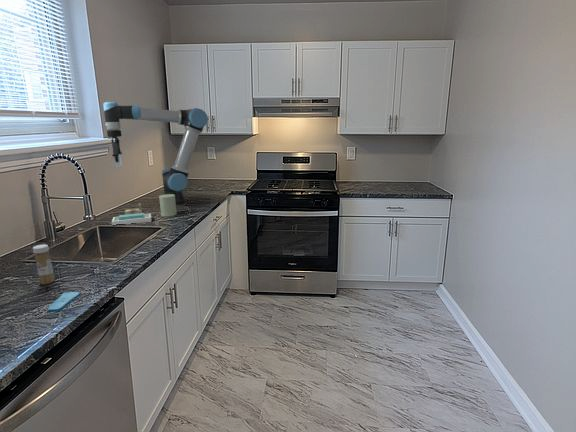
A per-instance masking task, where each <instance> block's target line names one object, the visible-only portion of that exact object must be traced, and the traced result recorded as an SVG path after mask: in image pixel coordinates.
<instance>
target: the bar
mask: <svg viewBox="0 0 576 432" xmlns="http://www.w3.org/2000/svg"><path fill="white" fill-rule="evenodd" d="M144 214H145V212H142V213H137V214H127V215H125V214H120V215H118V217H119V220H127V219H137V218H145V216H144Z"/></svg>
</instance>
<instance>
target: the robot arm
mask: <svg viewBox="0 0 576 432" xmlns="http://www.w3.org/2000/svg"><path fill="white" fill-rule="evenodd" d="M102 105H103V106H102V107H103V115H104V122H105V124H104V126H106V129H107V131H106V134H107V137H108V138H111V146H112V153H113V154H112V157H113V160H114V165H115V166H114V167H115V168H117V169H118V168H119V169H120V168H121V166H123V162H122V161H123V160H122V154H123V153H122V151H121V145H120V139H119V138H120V137H122V136H123V135H122V130H121V129H122V128H121V122H120V120H136V121H138V120H139V121H150V122H162V123H163V122H164V123H176V124H178V125H181V126H183V127H184V129H185V130H184V132H183V136H182V139H181V143H180V146H179V148H178V151H177V155H176V158H175V162H174V164H173V165H172V166H171V167H170V168H167V169H162V172H161V173H162V174H161V175H162V182H163V191H164V192H163V195H165V194H174V195H175V202H176V205H179V204H184V203H186V201H187V199H186V196H185V194H184V192H183V191H184V190H185V189H186V187H187V186H188V177H189V174H190V173H189V166H190V162H191V159H192V156H193V154H194V150H195V147H196V144H197V141H198V137H199V135H200V134H202V133H203V130H204V127H205V126H206V125H207V124H208V120H209V119H208V115H207V113H206V111H205V110H203V109H201V108H198V107H195V108H189V109H178V110H170V109H169V110H168V109H159V108H147V107H140V106H139V105H134V104H133V105H118V102H117V101H116V102H115V101H105V102H103V104H102Z"/></svg>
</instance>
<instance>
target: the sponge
mask: <svg viewBox="0 0 576 432" xmlns="http://www.w3.org/2000/svg"><path fill="white" fill-rule="evenodd" d="M80 295H81V291H68V292H63V293H62V294H61V295H60V296H58V298H57V299H56V300H54V301H53V303H51V304H50V305H48V308H47V310H46V312H47V313H48V312H60V311H61V310H63V309H64V308H65V307H67V306H68V305H69V304H70V303H71V302H73V300H75V299H76V298H77V297H79V296H80Z"/></svg>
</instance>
